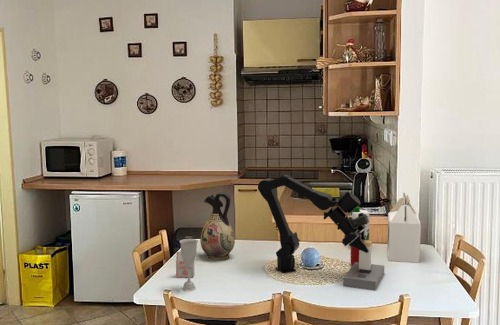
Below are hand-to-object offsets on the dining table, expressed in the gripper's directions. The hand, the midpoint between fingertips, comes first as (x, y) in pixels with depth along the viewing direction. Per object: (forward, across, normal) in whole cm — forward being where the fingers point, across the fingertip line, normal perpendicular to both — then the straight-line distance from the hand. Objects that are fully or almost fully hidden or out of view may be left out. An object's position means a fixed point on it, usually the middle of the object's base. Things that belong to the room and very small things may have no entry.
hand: (368, 250), depth 212 cm
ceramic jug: (-39, +6, +56) cm, 68 cm away
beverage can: (+4, +18, +14) cm, 23 cm away
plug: (+4, 0, +6) cm, 7 cm away
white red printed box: (-39, -24, +57) cm, 73 cm away
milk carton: (0, +47, +18) cm, 50 cm away
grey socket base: (+8, 0, +9) cm, 12 cm away
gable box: (+14, +43, +3) cm, 45 cm away
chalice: (-34, -36, +51) cm, 71 cm away
